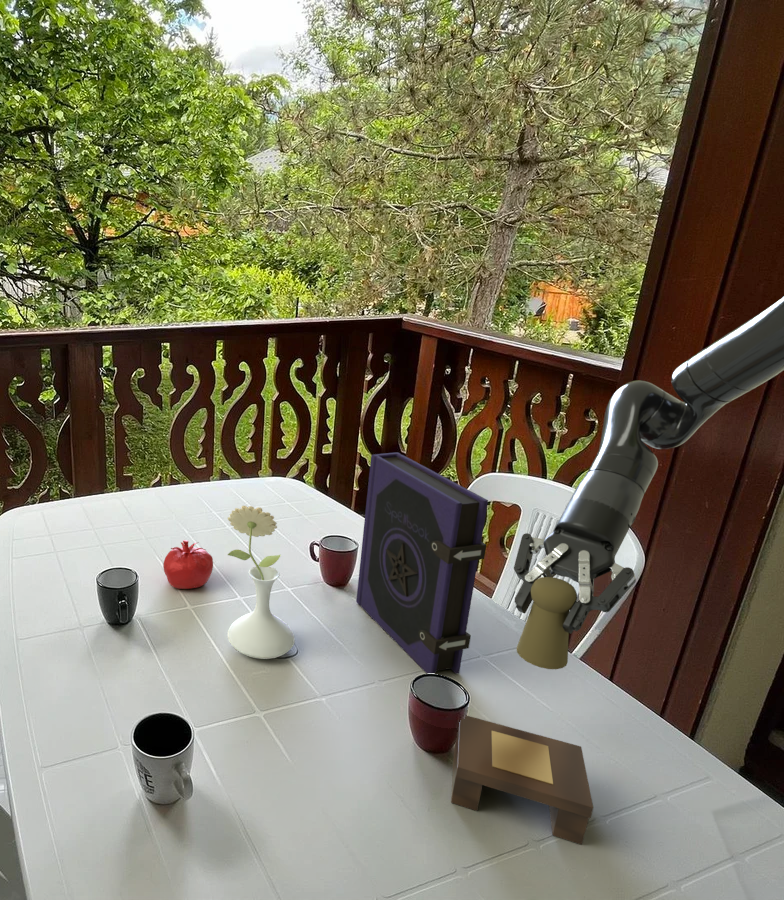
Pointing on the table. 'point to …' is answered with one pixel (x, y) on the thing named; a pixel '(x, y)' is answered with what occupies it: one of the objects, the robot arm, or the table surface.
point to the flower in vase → (259, 594)
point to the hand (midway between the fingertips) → (543, 619)
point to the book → (420, 559)
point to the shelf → (523, 772)
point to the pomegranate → (188, 566)
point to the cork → (547, 624)
